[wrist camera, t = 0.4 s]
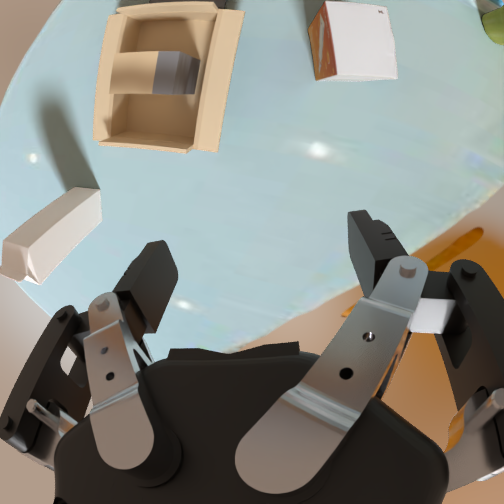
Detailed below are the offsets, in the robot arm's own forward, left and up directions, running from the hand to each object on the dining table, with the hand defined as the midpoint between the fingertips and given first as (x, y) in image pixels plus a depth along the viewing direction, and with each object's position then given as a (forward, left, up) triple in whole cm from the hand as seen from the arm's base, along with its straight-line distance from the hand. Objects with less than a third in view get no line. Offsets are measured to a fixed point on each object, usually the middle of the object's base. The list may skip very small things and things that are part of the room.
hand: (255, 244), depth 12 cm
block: (-7, -15, -28) cm, 32 cm away
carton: (-7, -15, -28) cm, 32 cm away
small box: (-14, +6, -28) cm, 32 cm away
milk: (+15, -29, -28) cm, 43 cm away
